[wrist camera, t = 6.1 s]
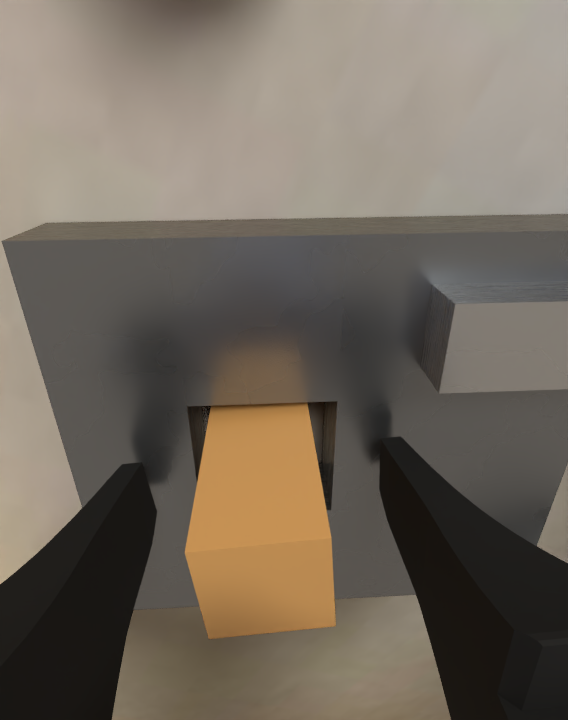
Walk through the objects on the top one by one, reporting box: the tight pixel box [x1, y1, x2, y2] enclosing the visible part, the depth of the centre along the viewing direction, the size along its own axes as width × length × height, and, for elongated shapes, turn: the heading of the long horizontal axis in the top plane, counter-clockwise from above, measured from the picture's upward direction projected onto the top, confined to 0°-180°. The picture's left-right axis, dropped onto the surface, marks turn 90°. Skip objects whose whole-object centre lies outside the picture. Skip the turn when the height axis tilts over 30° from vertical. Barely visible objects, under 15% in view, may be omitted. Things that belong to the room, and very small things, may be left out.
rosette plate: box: [2, 214, 568, 610], centre depth 14 cm, size 16×14×4 cm
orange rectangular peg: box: [185, 402, 336, 639], centre depth 13 cm, size 3×3×7 cm
